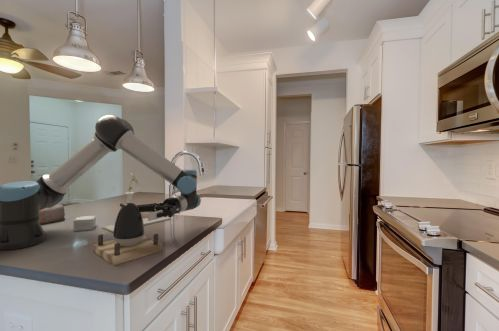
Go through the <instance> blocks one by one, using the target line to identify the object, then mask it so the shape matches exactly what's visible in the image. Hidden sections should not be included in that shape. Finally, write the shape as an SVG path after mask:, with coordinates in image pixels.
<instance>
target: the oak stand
mask: <svg viewBox="0 0 499 331" xmlns="http://www.w3.org/2000/svg"><path fill="white" fill-rule="evenodd" d="M92 250H93V253H95V254H97V255H98V256H99V257H101V258H102V259H104V260H105V261H106V262H108V263H109V264H111V265H112V266H117V265H119V264H123V263H126V262H129V261H133V260H135V259H140V258H143V257H145V256H149V255H151V254H155V253H158V252H162V251H163V243H162V242H160V241H159V233H154V234H153V238H150V237H148V236H146V235H143V238H142V240H141V241H140V242H139V243H138V244H136V245H134V246H130V247H123V246H120V243H116V241H115V239H113V240H107V241H104V233H103V234H102V233H101V234H98V235H97V243H96V244H93V249H92Z"/></svg>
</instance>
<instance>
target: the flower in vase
mask: <svg viewBox="0 0 499 331" xmlns="http://www.w3.org/2000/svg"><path fill="white" fill-rule="evenodd" d="M130 176H131V180H130V183H129V184H128V185H129V186H128V189H127V192H124V194H125V197H126V200H127V203H133V196H134V194H135V191H131V190H133V187H132V186H131V184H132V182H133V181H134V183H135V184H136V185H139V184H140V183H139V182H138V180H137V179H136V176H134V173H133V172H130Z"/></svg>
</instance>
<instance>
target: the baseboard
mask: <svg viewBox="0 0 499 331" xmlns="http://www.w3.org/2000/svg"><path fill="white" fill-rule="evenodd" d="M171 218H172V217H168V216H167V217H164V216H163V217H162V218H158V219H155V220H151V221H148V217H145V218H142V219H143V223H144V226H149V225H153V224H156V223H157V224H158V223H161V222H166V220H167V221H170V220H172V219H171ZM114 226H115V224H112V225H106V226H103V227H101V230H102V229H103V230H105V231H107V232H110V233H112V234H113V231H114Z"/></svg>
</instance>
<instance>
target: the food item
mask: <svg viewBox="0 0 499 331" xmlns="http://www.w3.org/2000/svg"><path fill="white" fill-rule="evenodd" d="M65 215H66V213H65V207H64V205H62V203H58V204H56V205H55V206H52V207H49V208H45V209H42V210H39V222H40V224H41V226H42V225H45V224H50V223H55V222H62V221H65V220H66V218H65V217H66V216H65Z"/></svg>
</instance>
